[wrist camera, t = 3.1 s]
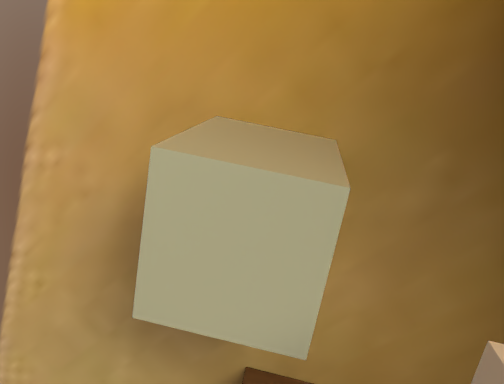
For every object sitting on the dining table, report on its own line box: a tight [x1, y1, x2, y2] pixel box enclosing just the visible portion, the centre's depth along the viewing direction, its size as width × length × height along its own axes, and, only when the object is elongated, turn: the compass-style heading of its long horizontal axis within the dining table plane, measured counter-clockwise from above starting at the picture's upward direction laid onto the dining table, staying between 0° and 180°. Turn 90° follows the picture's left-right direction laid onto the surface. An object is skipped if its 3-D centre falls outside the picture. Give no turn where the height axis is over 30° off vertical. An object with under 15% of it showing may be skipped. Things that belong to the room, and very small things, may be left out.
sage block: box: [132, 116, 350, 360], centre depth 18 cm, size 6×6×9 cm
